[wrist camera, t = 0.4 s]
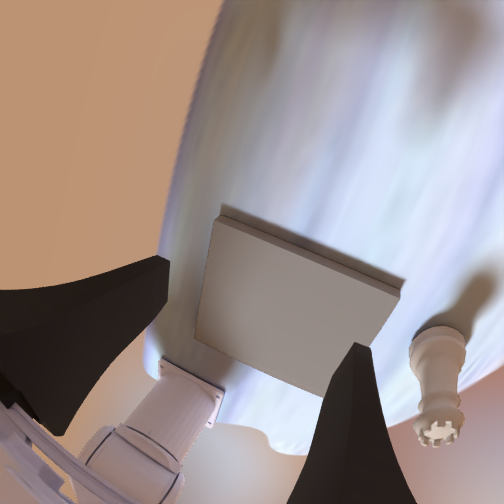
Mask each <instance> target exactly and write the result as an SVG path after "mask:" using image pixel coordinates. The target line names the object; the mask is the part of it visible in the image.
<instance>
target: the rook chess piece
mask: <svg viewBox="0 0 504 504" xmlns="http://www.w3.org/2000/svg"><path fill="white" fill-rule="evenodd" d="M465 344H466V342H465V340H464V337H463V335H462V334H461V333H460V332H458V331H457V330H456V329H454V328H450V327H446V326H435V327H431V328H429V329H426V330H424V331H423V332H421V333H420V334H419V335H418V336H417V337H416V338H415V339H413V341H412V343H411V345H410V347H409V358H410V367H411V369H412V371H413V373H414V375H415V376H416V377H417V379H418V381H419V382H420V388H421V395H422V400H421V401H420V402H419V404H418V409H419V411H420V413H421V415H420V416H419V417H418V418H417V420H416V421H415V422H414V425H413V429H414V430H415V432H416V433H417V434H418V435H419V436H418V437H419V438H418V441H419V440H421V445H423V446H425V447H426V446H427V445H429V441H432V442H433V448H434V447H440V441H442V440H446V444H447V445H448V444H450V443H452V442H454V438H457V437H458V436H459V432H460V428H461V427H462V426H463V424H464V421H465V417H464V414H463V413H462V412H461V411H460V410H459V409H457V408H458V407H459V405H460V401H461V399H460V397H459V395H458V394H457V382H458V374H459V373H460V372H461V368H462V366H463V365H464V362H465V356H466V350H465Z"/></svg>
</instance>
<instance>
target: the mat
mask: <svg viewBox="0 0 504 504" xmlns="http://www.w3.org/2000/svg"><path fill="white" fill-rule="evenodd" d="M399 300H400V290H399V289H397V288H394V287H392V286H390V285H387V284H385V283H383V282H381V281H378V280H376V279H374V278H371V277H369V276H367V275H364V274H362V273H360V272H357V271H355V270H353V269H350V268H348V267H346V266H343V265H341V264H339V263H336V262H334V261H332V260H329V259H327V258H325V257H322V256H320V255H318V254H315V253H313V252H310V251H308V250H306V249H303V248H301V247H298V246H296V245H294V244H291V243H289V242H286V241H284V240H282V239H279V238H277V237H274V236H272V235H270V234H267V233H265V232H262V231H260V230H257V229H255V228H252V227H250V226H248V225H245V224H243V223H240V222H238V221H235V220H233V219H230V218H228V217H225V216H223V215H220V216H219V217H218V218H216V219H215V220H214V224H213V229H212V234H211V240H210V245H209V250H208V256H207V262H206V267H205V273H204V279H203V285H202V291H201V297H200V303H199V309H198V315H197V321H196V327H195V334H194V339H196V340H198V341H200V342H202V343H204V344H206V345H208V346H210V347H212V348H214V349H215V350H217V351H220V352H222V353H224V354H226V355H228V356H230V357H232V358H234V359H236V360H238V361H240V362H242V363H244V364H246V365H249V366H251V367H253V368H255V369H257V370H259V371H261V372H264V373H266V374H268V375H270V376H273V377H275V378H277V379H279V380H282V381H284V382H286V383H289V384H291V385H293V386H296V387H298V388H300V389H303V390H305V391H308V392H310V393H312V394H315V395H317V396H320V397H322V398H324V396H325V394H326V391H327V388H328V385H329V383H330V380H331V377H332V375H333V374H334V372H335V371H336V369H337V368H338V366H339V365H340V363H341V362H342V360H343V359H344V357H345V356H346V354H347V353H348V351H349V350H350V348H351V346H352V345H353V343H354V342H357V343H359V344H362V345H364V346H367V347H369V346H370V344H371V343H372V342H373V340H374V339H375V337H376V336H377V334H378V333H379V331H380V330H381V328H382V327H383V325H384V324H385V322H386V321H387V319H388V318H389V316H390V314H391V313H392V311H393V310H394V308H395V307H396V305H397V303H398V302H399Z"/></svg>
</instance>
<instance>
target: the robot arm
mask: <svg viewBox="0 0 504 504" xmlns="http://www.w3.org/2000/svg"><path fill="white" fill-rule="evenodd" d="M169 269H170V261H169V260H167V259H164V258H162V257H160V256H158V255H156V256H152V257H149V258H146V259H144V260H141V261H137V262H134V263H132V264H129V265H126V266H123V267H120V268H117V269H114V270H111V271H109V272H105V273H102V274H99V275H96V276H92V277H89V278H85V279H82V280H78V281H74V282H70V283H65V284H60V285H55V286H48V287H40V288H33V289H20V290H0V504H76V503H75V502H73V501H72V500H71V499H69V498H68V497H67V496H66V495H64V494H63V493H62V492H61V491H60V490H59V489H60V487H61V486H62V485H63V483H64V482H65V481H64V479H63V478H62V477H60V476H59V475H58V474H57V473H56V472H55V471H54V470H53V469H51V467H49V465H48V464H46V462H45V461H43V460H42V459H41V458H40V457H39V456H38V455H37V454H36V453H35V452H34V451H33V450H32V443H33V444H34V445H35V446H37V447H38V448H39V449H40V450H41V451H42V452H43V453H44V454H45V455H46V456H47V457H49V458H50V459H51V460H52V461H53V462H54V463H55V464H56V465H58V466H59V467H60V468H61V469H62V470H64V471H65V472H66V473H67V474H68V475H69V479H70V482H71V485H72V487H73V490H74V493H75V496H76V498H77V501H78V504H174V503H175V501H176V500H177V498H178V497H179V495H180V493H181V492H182V490H183V487H184V485H185V479H184V475H183V474H182V473H180V472H179V471H180V470H181V468H182V466H183V465H181V463H182V461H183V459H184V458H185V456H186V455H187V453H188V452H189V450H190V449H191V447H192V445H193V444H194V442H195V441H196V439H197V438H198V436H199V434H200V433H201V431H202V430H203V428H204V427H205V426H206V427H208V428H213V426H214V424H215V421H216V418H217V415H218V411H219V408H220V405H221V402H222V399H223V396H224V392H223V391H222V390H220V389H218V388H216V387H214V386H212V385H210V384H208V383H206V382H204V381H202V380H200V379H198V378H196V377H195V376H193V375H191V374H189V373H187V372H185V371H183V370H182V369H180V368H178V367H176V366H174V365H173V364H171V363H169V362H167V361H166V360H164V359H160V360H159V361H158V382H157V383H156V384H155V386H154V387H153V388H152V389H151V390H150V392H149V393H148V394H147V395H146V397H145V398H144V399H143V400H142V402H141V403H140V404H139V405H138V406H137V408H136V409H135V410H134V411H133V413H132V414H131V415H130V416H129V418H128V419H127V420H126V421H125V423H124V424H122V423H120V424H119V426H118V427H117V428H115V427H114V426H113V425H109V426H103V427H102V428H100V429H99V430H98V431H97V432H96V433H95V434H94V436H93V437H92V438H91V439H90V440H89V441H88V443H87V444H86V445H85V446H84V448H83V449H82V451H81V452H80V454H79V456H78V458H76V457H75V456H73V455H72V454H71V453H69V452H68V451H67V450H66V449H65V448H64V447H62V446H61V445H60V444H59V443H58V442H57V441H55V440H54V439H53V438H52V437H51V436H50V435H49V434H47V433H46V432H45V431H44V430H43V429H42V428H41V427H40V426H39V425H38V424H37V423H36V422H35V421H34V420H33V418H34V419H35V420H36V421H37V422H38V423H39V424H42V425H43V426H44V427H45V428H46V429H47V430H49V431H50V432H51V433H52V434H53V435H54V436H63V435H64V434H65V432H66V430H67V428H68V426H69V424H70V422H71V421H72V419H73V417H74V415H75V414H76V412H77V411H78V409H79V408H80V406H81V404H82V403H83V401H84V400H85V398H86V397H87V395H88V394H89V392H90V391H91V389H92V388H93V387H94V385H95V384H96V382H97V381H98V380H99V378H100V377H101V375H102V374H103V373H104V371H106V369H107V368H108V367H109V365H110V364H111V363H112V362H113V361H114V360H115V358H116V357H117V356H118V355H119V354H120V353H121V352H122V351H123V350H124V349H125V348H126V347H127V346H128V345H129V344H130V343H131V342H132V341H133V340H134V339H135V338H136V337H137V336H138V335H139V334H140V333H141V332H142V331H143V330H144V329H145V328H146V327H147V326H148V325H149V324H150V323H151V322H152V321H153V320H154V318H155V317H156V316H157V315H158V313H159V312H160V311H161V309H162V308H163V306H164V305H165V304H166V302H167V299H168V283H169ZM31 442H32V443H31ZM287 504H417V503H416V501H415V499H414V497H413V495H412V493H411V491H410V489H409V487H408V485H407V482H406V480H405V478H404V476H403V473H402V471H401V468H400V466H399V464H398V461H397V458H396V456H395V453H394V450H393V447H392V444H391V441H390V438H389V434H388V431H387V427H386V424H385V420H384V416H383V412H382V407H381V403H380V398H379V393H378V388H377V383H376V377H375V372H374V366H373V359H372V352H371V349H370V348H369V347H367V346H364V345H362V344H359V343H357V342H354V343H353V345H352V346H351V348H350V350H349V351H348V353H347V354H346V356H345V357H344V359H343V360H342V362H341V363H340V365H339V366H338V368H337V369H336V371H335V372H334V374H333V375H332V377H331V380H330V383H329V385H328V388H327V391H326V394H325V396H324V399H323V402H322V406H321V410H320V414H319V418H318V421H317V425H316V429H315V433H314V436H313V440H312V443H311V447H310V450H309V453H308V456H307V459H306V462H305V464H304V467H303V469H302V471H301V474H300V476H299V478H298V481H297V483H296V485H295V487H294V489H293V491H292V493H291V495H290V497H289V499H288V501H287Z"/></svg>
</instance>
